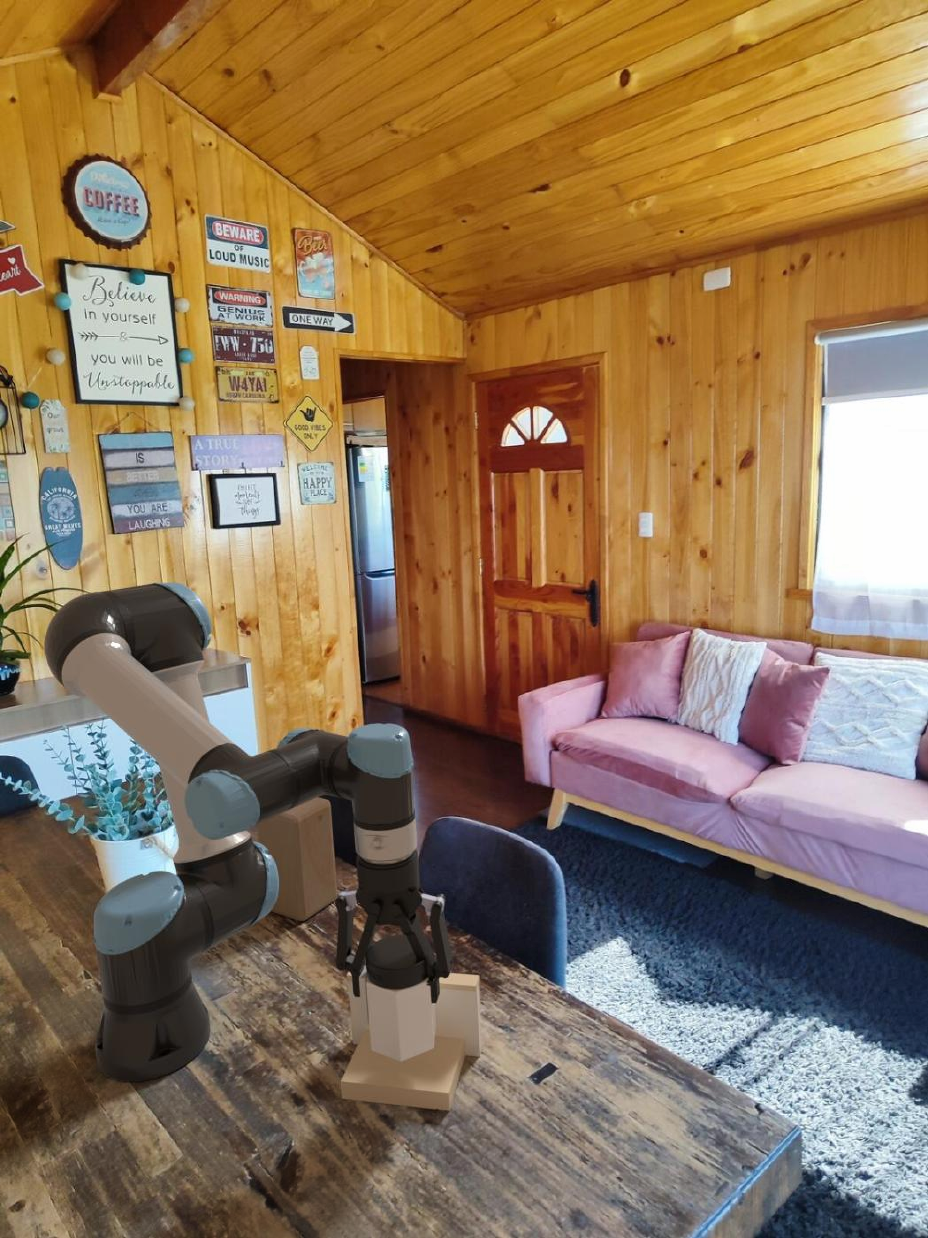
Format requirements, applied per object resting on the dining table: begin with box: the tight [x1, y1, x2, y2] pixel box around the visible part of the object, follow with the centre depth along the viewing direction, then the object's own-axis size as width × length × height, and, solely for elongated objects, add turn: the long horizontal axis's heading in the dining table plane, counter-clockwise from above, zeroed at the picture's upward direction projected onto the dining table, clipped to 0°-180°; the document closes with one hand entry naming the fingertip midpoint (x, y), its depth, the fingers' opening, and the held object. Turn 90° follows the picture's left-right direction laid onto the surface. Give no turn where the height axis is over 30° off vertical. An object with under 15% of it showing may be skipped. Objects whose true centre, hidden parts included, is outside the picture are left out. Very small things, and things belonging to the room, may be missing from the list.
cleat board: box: [340, 965, 483, 1112], centre depth 108 cm, size 18×12×11 cm, turn 79°
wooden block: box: [256, 797, 338, 922], centre depth 151 cm, size 10×10×20 cm
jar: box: [365, 934, 436, 1062], centre depth 103 cm, size 9×8×12 cm
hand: (398, 1020), depth 104 cm, fingers closed on jar, 7 cm apart
